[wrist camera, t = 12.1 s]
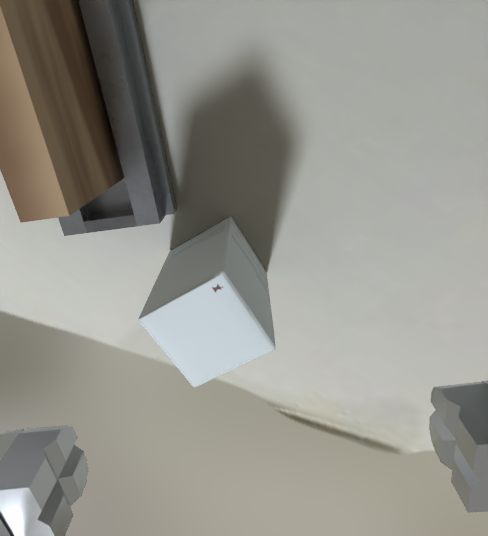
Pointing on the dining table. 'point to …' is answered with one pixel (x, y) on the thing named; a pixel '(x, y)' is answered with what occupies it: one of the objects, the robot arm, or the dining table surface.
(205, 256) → the supplement box
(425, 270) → the dining table surface
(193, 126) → the dining table surface
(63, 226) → the tray
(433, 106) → the dining table surface
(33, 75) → the door panel
